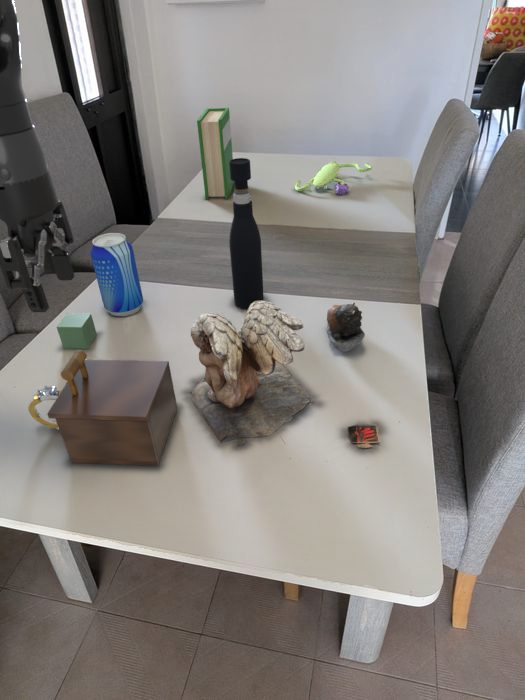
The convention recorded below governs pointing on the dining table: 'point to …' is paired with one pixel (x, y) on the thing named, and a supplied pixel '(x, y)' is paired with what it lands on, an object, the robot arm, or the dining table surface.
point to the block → (77, 331)
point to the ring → (44, 394)
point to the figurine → (331, 177)
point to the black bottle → (244, 240)
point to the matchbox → (363, 434)
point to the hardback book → (215, 151)
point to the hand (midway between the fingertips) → (54, 294)
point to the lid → (108, 389)
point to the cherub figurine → (248, 372)
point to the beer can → (116, 274)
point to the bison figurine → (344, 326)
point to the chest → (122, 434)
